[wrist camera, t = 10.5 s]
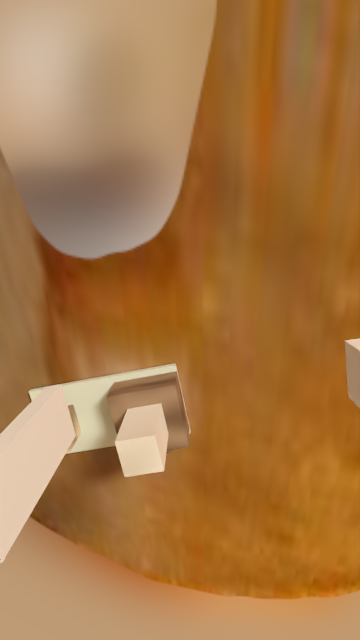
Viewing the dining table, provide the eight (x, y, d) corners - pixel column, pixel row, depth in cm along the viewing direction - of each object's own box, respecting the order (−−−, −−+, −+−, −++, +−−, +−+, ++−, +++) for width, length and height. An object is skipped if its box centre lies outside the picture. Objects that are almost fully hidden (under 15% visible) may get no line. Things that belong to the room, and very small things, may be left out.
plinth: (114, 382, 53) (106, 396, 48) (176, 371, 52) (175, 384, 47) (129, 438, 55) (123, 457, 50) (189, 428, 54) (188, 446, 49)
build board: (30, 389, 54) (28, 391, 54) (175, 363, 52) (175, 365, 52) (52, 453, 57) (50, 456, 56) (190, 430, 55) (190, 433, 54)
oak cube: (43, 409, 54) (29, 426, 49) (73, 404, 54) (61, 420, 49) (52, 436, 55) (39, 455, 51) (81, 431, 55) (70, 450, 50)
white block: (127, 409, 48) (114, 441, 40) (161, 403, 48) (155, 435, 40) (135, 439, 49) (124, 477, 41) (168, 434, 49) (163, 471, 41)
